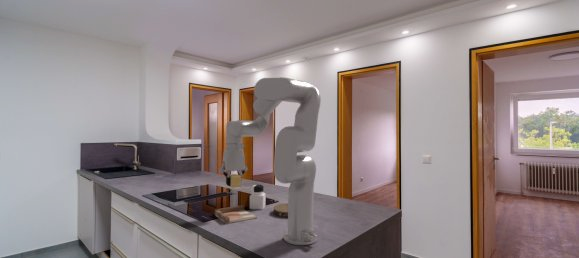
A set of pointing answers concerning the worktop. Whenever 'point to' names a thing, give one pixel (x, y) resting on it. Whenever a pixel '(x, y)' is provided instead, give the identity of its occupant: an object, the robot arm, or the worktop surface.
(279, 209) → the tan flat round disc
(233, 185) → the mustard block
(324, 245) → the worktop surface
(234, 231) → the worktop surface
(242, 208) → the tray
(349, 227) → the worktop surface
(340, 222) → the worktop surface
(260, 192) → the medicine bottle
